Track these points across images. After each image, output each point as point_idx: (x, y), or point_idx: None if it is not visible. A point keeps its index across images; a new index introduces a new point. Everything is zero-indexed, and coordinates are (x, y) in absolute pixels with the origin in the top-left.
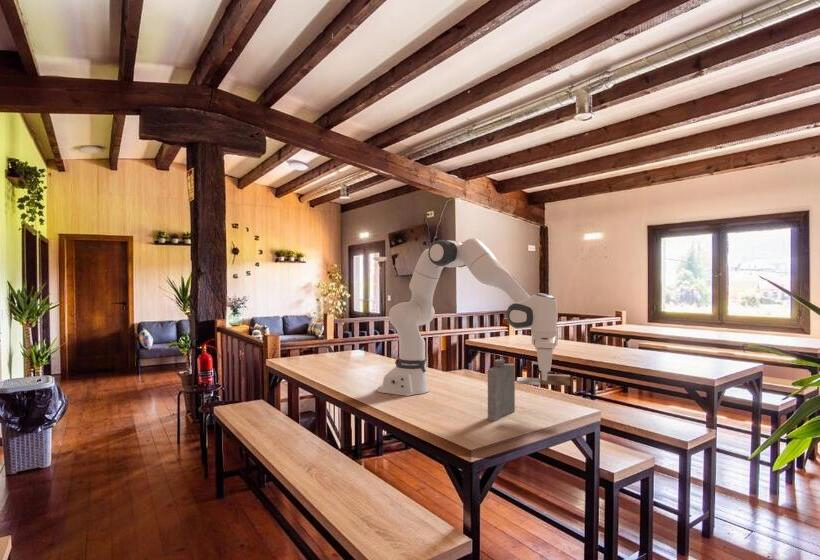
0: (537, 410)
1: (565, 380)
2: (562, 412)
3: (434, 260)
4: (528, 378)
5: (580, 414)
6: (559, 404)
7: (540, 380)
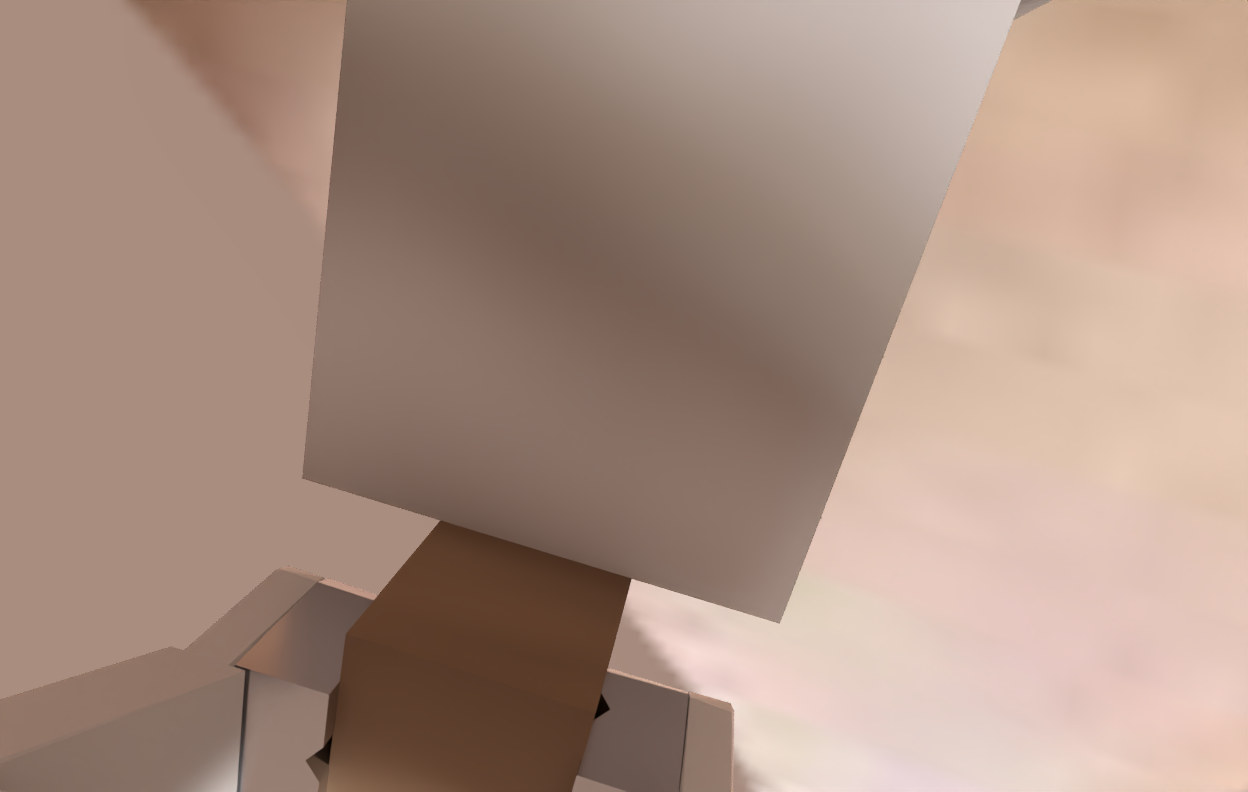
0: (981, 368)
1: None
2: (866, 620)
3: None
4: (792, 256)
5: (782, 753)
6: (1204, 701)
7: (429, 535)
